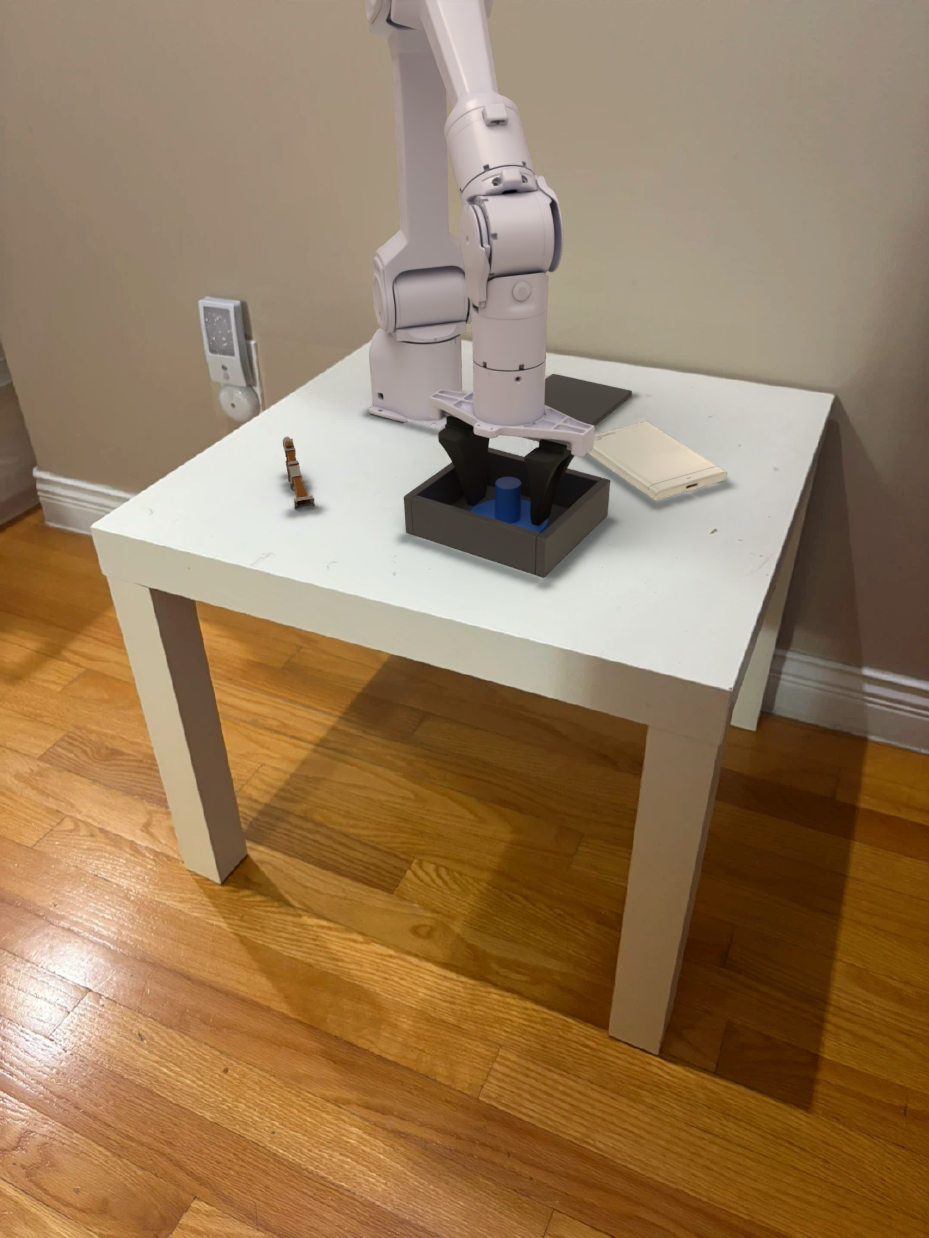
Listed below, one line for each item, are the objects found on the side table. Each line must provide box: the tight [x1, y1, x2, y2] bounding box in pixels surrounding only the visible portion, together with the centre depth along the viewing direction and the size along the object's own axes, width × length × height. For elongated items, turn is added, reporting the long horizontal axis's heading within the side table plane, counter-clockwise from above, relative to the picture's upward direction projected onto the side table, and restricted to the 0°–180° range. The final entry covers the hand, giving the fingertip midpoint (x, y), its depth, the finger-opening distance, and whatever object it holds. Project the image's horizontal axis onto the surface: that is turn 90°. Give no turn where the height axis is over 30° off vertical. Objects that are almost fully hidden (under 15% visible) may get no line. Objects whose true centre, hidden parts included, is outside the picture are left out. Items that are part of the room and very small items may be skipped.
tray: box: [403, 446, 611, 579], centre depth 83 cm, size 14×12×4 cm
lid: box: [470, 477, 548, 533], centre depth 82 cm, size 7×7×4 cm
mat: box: [544, 373, 633, 427], centre depth 105 cm, size 10×10×1 cm
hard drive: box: [587, 421, 728, 501], centre depth 92 cm, size 2×8×12 cm
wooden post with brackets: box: [282, 436, 316, 508], centre depth 89 cm, size 2×8×4 cm, turn 18°
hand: (507, 510), depth 83 cm, fingers open, 6 cm apart
